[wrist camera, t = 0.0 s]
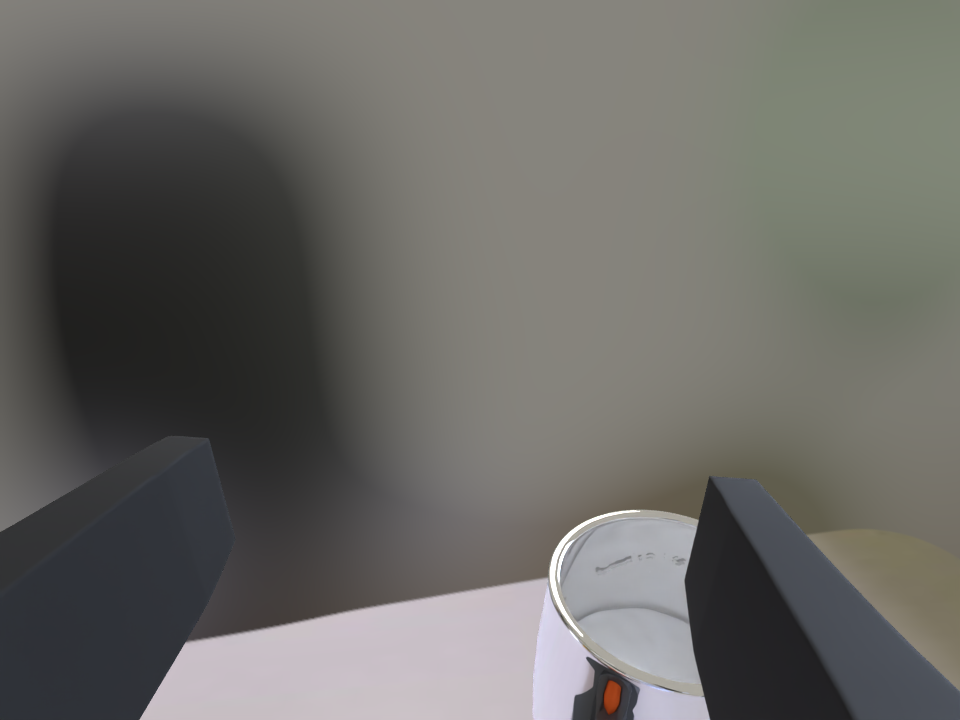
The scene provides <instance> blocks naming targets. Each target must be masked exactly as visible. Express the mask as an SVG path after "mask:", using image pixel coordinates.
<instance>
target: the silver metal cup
mask: <svg viewBox="0 0 960 720" xmlns="http://www.w3.org/2000/svg"><path fill="white" fill-rule="evenodd" d="M698 521H699V520H696V519H693V518H690V517H686V516H683V515H679V514H674V513H669V512H662V511H655V510H624V511H616V512H611V513H606V514H603V515H599V516H596V517H594V518H591V519H589V520H587V521H585V522H583V523H581V524H579V525H578V526H577V527H575V528H573V529H572V530H571V531H570V532H569V533H567V534H566V535H565V536H564V537H563V539H562V540H561V541H560V542H559V544H558V545H557V547H556V549H555V550H554V552H553V555H552V557H551V560H550V564H549V570H548V584H547V589H546V594H545V599H544V604H543V609H542V615H541V620H540V626H539V632H538V638H537V646H536V655H535V663H534V672H533V720H710V718H709V714H708V710H707V705H706V701H705V697H704V693H703V689H702V685H701V681H700V677H699V673H698V669H697V665H696V660H695V656H694V651H693V644H692V637H691V630H690V623H689V615H688V607H687V599H686V590H685V582H684V579H685V575H686V571H687V567H688V563H689V559H690V555H691V550H692V546H693V542H694V538H695V534H696V530H697V526H698Z"/></svg>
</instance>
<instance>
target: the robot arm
mask: <svg viewBox="0 0 960 720" xmlns="http://www.w3.org/2000/svg"><path fill="white" fill-rule="evenodd" d="M234 542H235V536H234V532H233V528H232V524H231V520H230V517H229V513H228V509H227V506H226V502H225V498H224V494H223V491H222V487H221V483H220V479H219V476H218V472H217V468H216V464H215V461H214V457H213V453H212V449H211V446H210V442H209V439H207V438H194V437H193V438H192V437H181V436H169V437H166V438H165V439H163V440H160V441H158V442H157V443H155V444H153V445H151V446H149V447H147V448H145V449H143V450H142V451H140V452H138V453H136V454H134V455H133V456H131V457H129V458H128V459H126V460H124V461H122V462H120V463H119V464H117V465H115V466H114V467H112V468H110V469H108V470H106V471H105V472H103V473H102V474H100V475H98V476H96V477H95V478H93V479H91V480H90V481H88V482H86V483H84V484H83V485H81V486H79V487H78V488H76V489H74V490H72V491H71V492H69V493H67V494H66V495H64V496H62V497H60V498H59V499H57V500H55V501H53V502H52V503H50V504H48V505H47V506H45V507H43V508H42V509H40V510H38V511H36V512H35V513H33V514H31V515H29V516H28V517H26V518H24V519H23V520H21V521H19V522H17V523H16V524H14V525H12V526H10V527H9V528H7V529H5V530H3V531H2V532H0V720H139V719H140V718H141V716H142V714H143V713H144V711H145V709H146V708H147V706H148V704H149V703H150V701H151V699H152V697H153V696H154V694H155V692H156V691H157V689H158V687H159V686H160V684H161V682H162V681H163V679H164V677H165V676H166V674H167V672H168V671H169V669H170V667H171V666H172V664H173V662H174V661H175V659H176V657H177V656H178V654H179V652H180V651H181V649H182V647H183V645H184V644H185V642H186V640H187V639H188V637H189V635H190V633H191V632H192V630H193V628H194V627H195V625H196V623H197V621H198V620H199V618H200V616H201V615H202V613H203V611H204V609H205V607H206V606H207V604H208V602H209V600H210V597H211V595H212V593H213V591H214V589H215V587H216V584H217V582H218V580H219V578H220V576H221V573H222V571H223V569H224V566H225V564H226V561H227V559H228V556H229V554H230V552H231V549H232V546H233V544H234ZM684 582H685V590H686V599H687V607H688V615H689V623H690V630H691V637H692V644H693V651H694V656H695V660H696V665H697V669H698V673H699V677H700V681H701V685H702V689H703V693H704V697H705V701H706V705H707V710H708V714H709V718H710V720H960V691H959V690H958V689H957V688H956V687H954V686H953V685H952V684H951V683H950V682H949V681H948V680H947V679H946V678H945V677H944V676H943V675H942V674H941V673H940V672H939V671H938V670H937V669H936V668H935V667H934V666H932V665H931V664H930V663H929V662H928V661H927V660H926V659H925V658H924V657H923V656H922V655H921V654H920V653H919V652H918V651H917V650H916V649H915V648H914V647H913V646H912V645H911V644H910V643H909V642H908V641H907V640H906V639H905V638H904V637H903V636H902V635H901V634H900V633H899V632H898V631H897V630H896V629H895V628H894V627H893V626H892V625H891V624H890V623H889V622H888V621H887V620H886V619H885V618H884V617H883V616H882V615H881V614H880V613H879V612H878V611H877V610H876V609H875V608H874V607H873V606H872V605H871V604H870V603H869V602H868V601H867V600H866V599H865V598H864V597H863V596H862V595H861V594H860V593H859V591H858V590H857V589H856V588H855V587H854V586H853V585H852V584H851V583H850V582H849V581H848V580H847V579H846V578H845V577H844V576H843V575H842V574H841V572H840V571H839V570H838V569H837V568H836V567H835V566H834V565H833V564H832V563H831V562H830V561H829V560H828V558H827V557H826V556H825V555H824V554H823V553H822V552H821V551H820V550H819V549H818V548H817V546H816V545H815V544H814V543H813V542H812V541H811V540H810V539H809V538H808V537H807V535H806V534H805V533H804V532H803V531H802V530H801V529H800V528H799V527H798V526H797V524H796V523H795V522H794V521H793V520H792V519H791V518H790V517H789V515H788V514H787V513H786V512H785V511H784V510H783V509H782V508H781V507H780V505H779V504H778V503H777V502H776V501H775V500H774V499H773V498H772V497H771V495H770V494H769V493H768V492H767V491H766V490H765V489H764V488H763V487H762V486H761V485H760V483H758V481H757V480H755V479H754V480H753V479H742V478H728V477H715V476H709V480H708V484H707V488H706V492H705V497H704V501H703V505H702V509H701V513H700V517H699V521H698V526H697V530H696V534H695V538H694V542H693V546H692V550H691V555H690V559H689V563H688V567H687V571H686V575H685V579H684Z"/></svg>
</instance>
